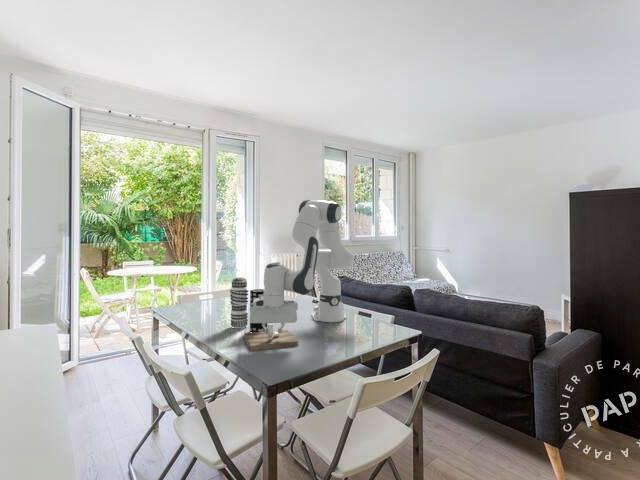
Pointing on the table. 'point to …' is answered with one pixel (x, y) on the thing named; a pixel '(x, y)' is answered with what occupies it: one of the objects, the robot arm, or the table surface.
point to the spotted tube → (253, 295)
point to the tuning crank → (271, 333)
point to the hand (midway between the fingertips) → (273, 332)
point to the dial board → (270, 340)
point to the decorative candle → (239, 303)
